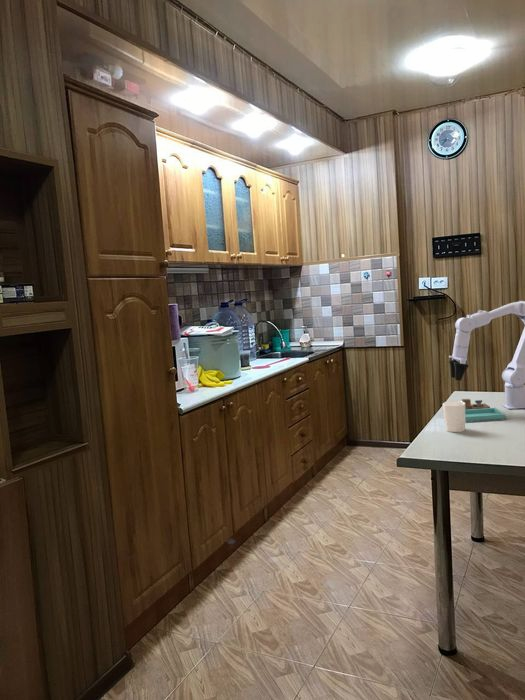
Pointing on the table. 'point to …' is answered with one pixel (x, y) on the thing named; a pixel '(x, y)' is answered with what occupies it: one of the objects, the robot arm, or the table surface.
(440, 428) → the table surface
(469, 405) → the collar
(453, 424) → the white cup
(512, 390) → the robot arm
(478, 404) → the stake
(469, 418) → the tray
